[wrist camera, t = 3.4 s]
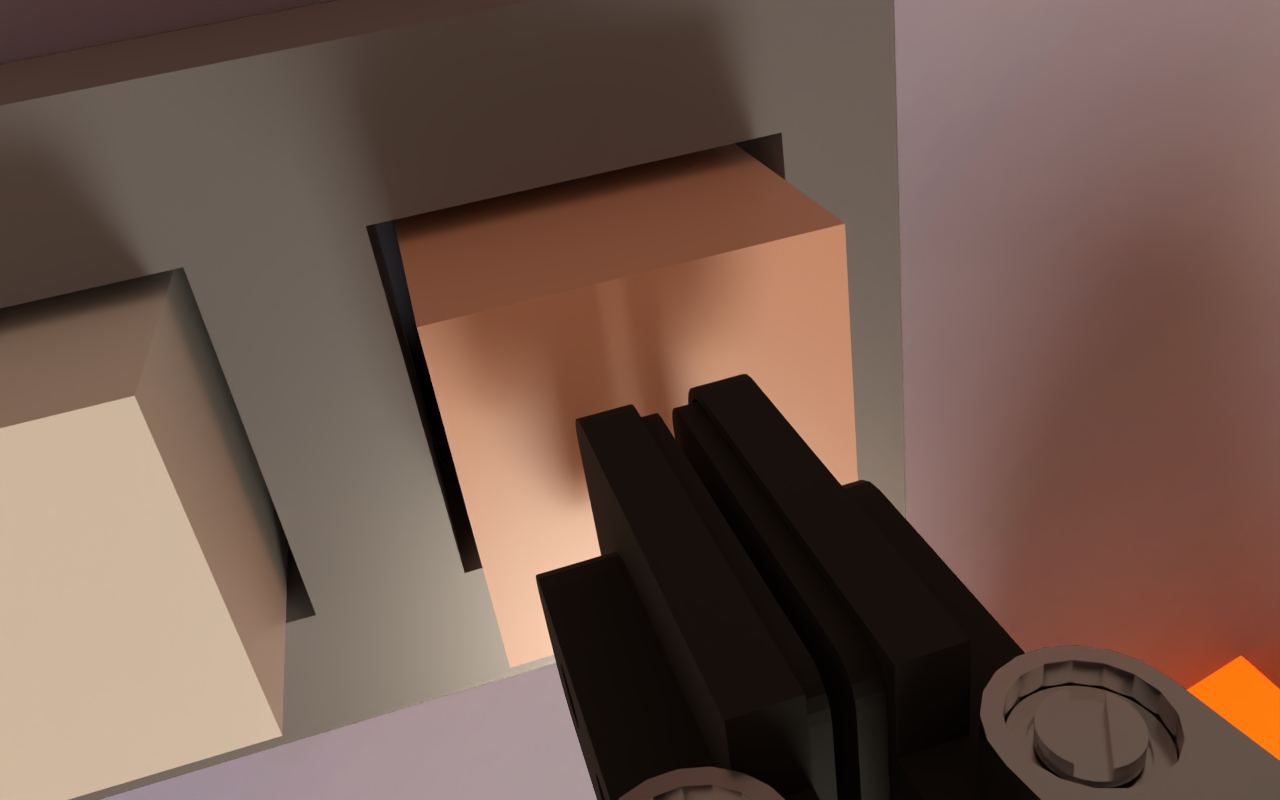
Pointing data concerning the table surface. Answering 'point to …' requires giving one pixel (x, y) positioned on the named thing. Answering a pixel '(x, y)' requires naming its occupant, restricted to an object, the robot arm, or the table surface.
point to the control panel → (356, 270)
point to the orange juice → (1244, 701)
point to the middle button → (129, 546)
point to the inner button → (617, 337)
